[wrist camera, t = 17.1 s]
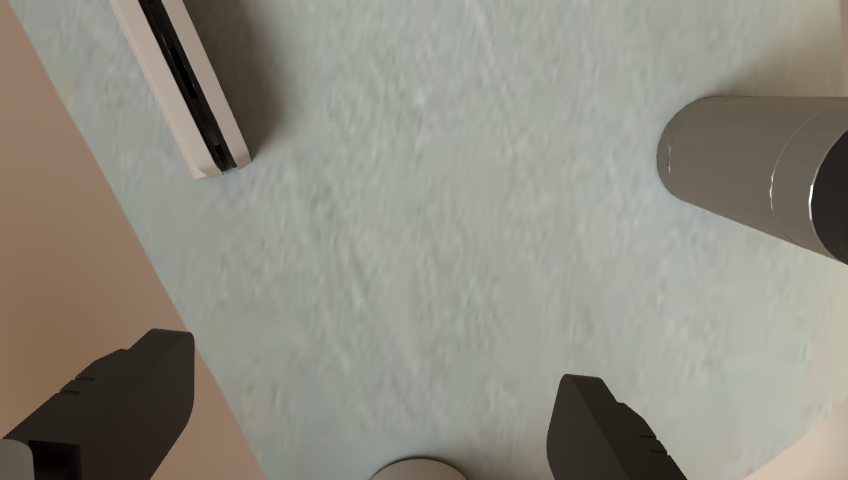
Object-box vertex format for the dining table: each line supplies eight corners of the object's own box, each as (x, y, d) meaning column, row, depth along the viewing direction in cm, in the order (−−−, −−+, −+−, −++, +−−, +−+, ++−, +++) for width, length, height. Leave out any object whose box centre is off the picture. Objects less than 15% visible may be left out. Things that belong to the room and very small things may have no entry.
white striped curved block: (100, -21, 38) (55, -79, 29) (163, -37, 39) (140, -97, 30) (198, 183, 42) (187, 191, 33) (252, 164, 44) (256, 166, 34)
